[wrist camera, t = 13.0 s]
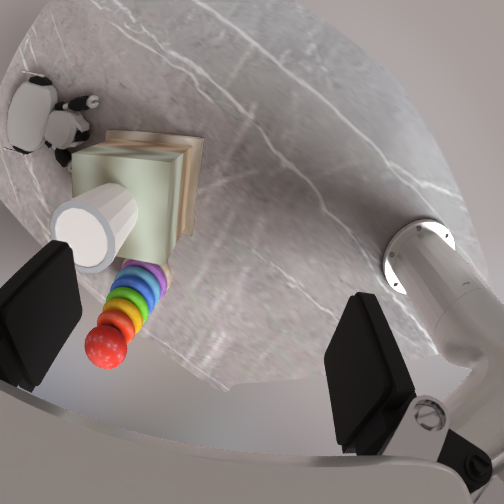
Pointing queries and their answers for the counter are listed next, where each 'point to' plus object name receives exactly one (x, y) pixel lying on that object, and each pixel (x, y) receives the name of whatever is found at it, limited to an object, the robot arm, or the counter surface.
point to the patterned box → (146, 185)
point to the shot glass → (95, 225)
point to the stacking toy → (126, 310)
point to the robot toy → (46, 119)
